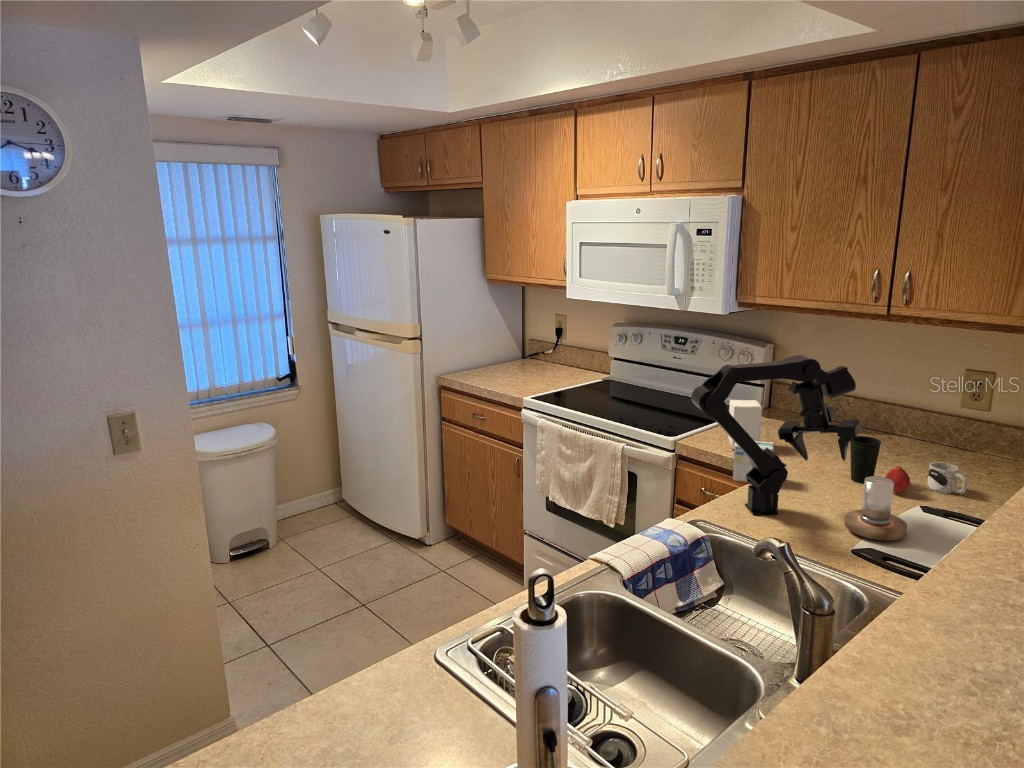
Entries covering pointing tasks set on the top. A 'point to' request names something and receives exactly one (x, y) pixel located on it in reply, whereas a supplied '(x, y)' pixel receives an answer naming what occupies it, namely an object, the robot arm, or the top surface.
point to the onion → (898, 479)
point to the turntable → (876, 527)
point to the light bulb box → (745, 460)
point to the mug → (945, 478)
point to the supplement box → (747, 417)
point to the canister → (877, 501)
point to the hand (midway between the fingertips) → (825, 459)
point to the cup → (863, 457)
